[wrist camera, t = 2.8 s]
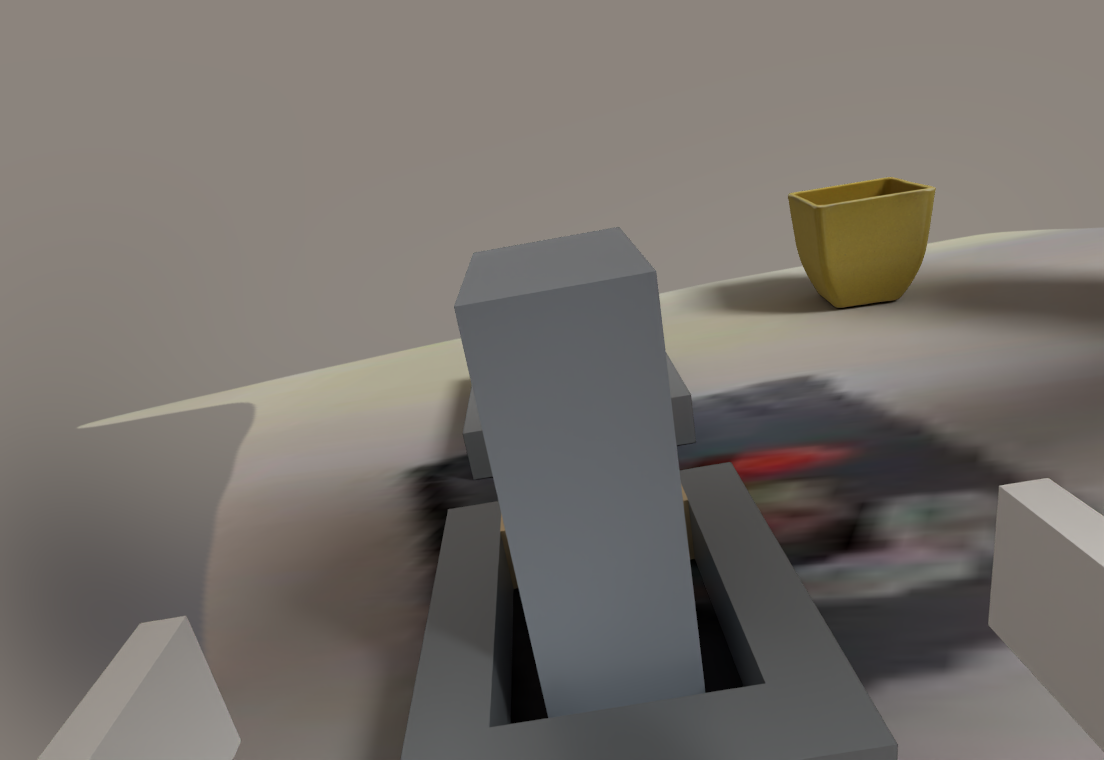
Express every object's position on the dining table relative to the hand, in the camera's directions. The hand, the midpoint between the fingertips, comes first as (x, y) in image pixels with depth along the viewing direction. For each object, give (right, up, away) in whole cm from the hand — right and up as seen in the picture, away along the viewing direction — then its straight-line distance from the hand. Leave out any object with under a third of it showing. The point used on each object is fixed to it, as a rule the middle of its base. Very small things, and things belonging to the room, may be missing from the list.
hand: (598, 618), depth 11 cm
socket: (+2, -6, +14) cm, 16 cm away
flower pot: (+25, +11, +47) cm, 54 cm away
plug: (+2, -6, +14) cm, 16 cm away
